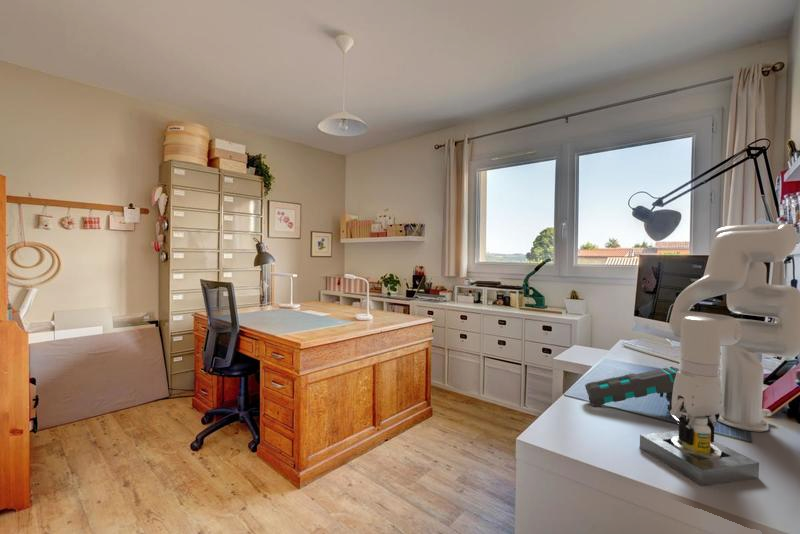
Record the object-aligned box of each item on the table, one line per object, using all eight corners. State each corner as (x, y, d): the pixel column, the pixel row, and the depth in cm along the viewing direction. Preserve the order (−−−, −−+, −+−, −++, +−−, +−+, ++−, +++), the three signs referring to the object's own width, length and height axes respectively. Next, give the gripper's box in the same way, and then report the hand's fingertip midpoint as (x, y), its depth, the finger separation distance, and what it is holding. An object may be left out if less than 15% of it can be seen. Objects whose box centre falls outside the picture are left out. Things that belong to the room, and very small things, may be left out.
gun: (700, 413, 113) (685, 367, 113) (601, 432, 119) (587, 387, 120) (688, 405, 119) (674, 361, 120) (595, 423, 125) (581, 381, 126)
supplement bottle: (693, 447, 92) (694, 410, 92) (715, 459, 87) (717, 419, 86) (676, 449, 91) (677, 412, 91) (698, 461, 86) (699, 421, 85)
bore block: (689, 442, 98) (690, 427, 98) (758, 477, 83) (759, 460, 82) (639, 447, 95) (640, 432, 95) (701, 485, 79) (702, 468, 79)
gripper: (711, 361, 93) (708, 430, 94) (655, 365, 90) (653, 436, 91) (744, 370, 86) (740, 445, 87) (685, 375, 83) (682, 452, 83)
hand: (696, 440), depth 89 cm, fingers closed on supplement bottle, 5 cm apart
